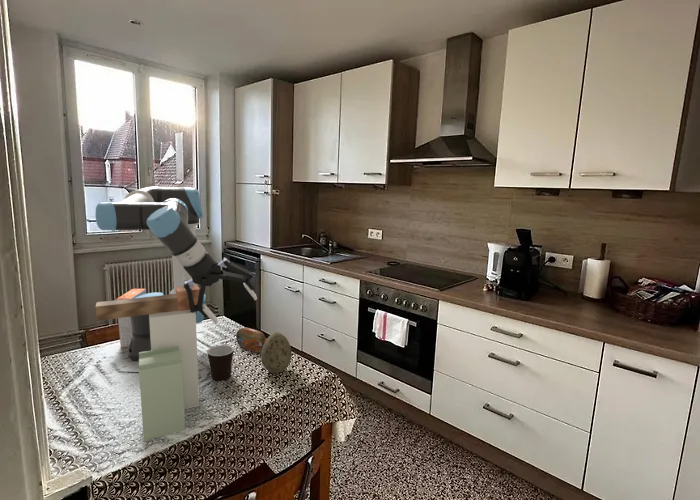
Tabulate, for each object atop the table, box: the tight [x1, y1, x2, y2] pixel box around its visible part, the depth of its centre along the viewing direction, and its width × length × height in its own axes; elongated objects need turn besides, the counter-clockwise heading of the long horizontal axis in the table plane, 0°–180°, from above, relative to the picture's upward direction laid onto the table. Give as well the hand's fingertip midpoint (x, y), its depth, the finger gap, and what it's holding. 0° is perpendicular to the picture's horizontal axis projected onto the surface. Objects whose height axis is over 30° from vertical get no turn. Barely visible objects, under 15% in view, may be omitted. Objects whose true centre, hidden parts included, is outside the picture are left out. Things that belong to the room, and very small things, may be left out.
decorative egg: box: [260, 332, 293, 374], centre depth 137 cm, size 11×11×15 cm
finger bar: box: [95, 284, 200, 322], centre depth 109 cm, size 26×5×6 cm, turn 120°
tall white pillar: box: [149, 310, 200, 410], centre depth 115 cm, size 12×10×30 cm
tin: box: [235, 327, 267, 354], centre depth 155 cm, size 15×3×8 cm, turn 58°
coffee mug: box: [206, 344, 235, 383], centre depth 134 cm, size 12×9×10 cm
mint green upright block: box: [138, 346, 186, 442], centre depth 104 cm, size 10×9×21 cm
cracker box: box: [115, 288, 147, 349], centre depth 157 cm, size 14×6×21 cm, turn 5°
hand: (236, 309), depth 116 cm, fingers open, 13 cm apart
